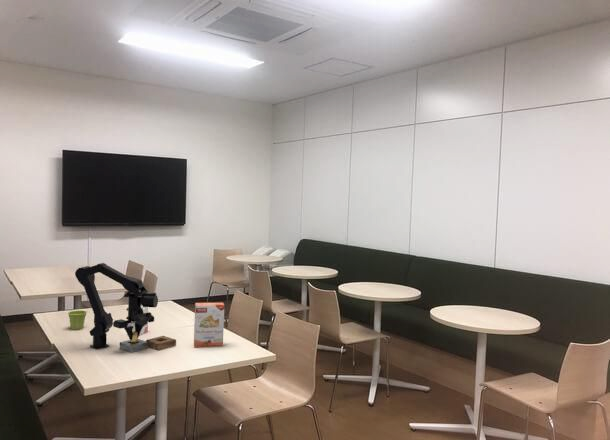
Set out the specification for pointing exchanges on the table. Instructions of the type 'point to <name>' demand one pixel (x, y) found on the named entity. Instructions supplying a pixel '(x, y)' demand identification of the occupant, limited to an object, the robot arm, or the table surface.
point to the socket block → (133, 345)
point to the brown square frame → (161, 342)
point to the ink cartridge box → (144, 328)
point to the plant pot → (77, 319)
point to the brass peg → (134, 337)
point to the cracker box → (208, 324)
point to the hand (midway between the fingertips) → (133, 339)
